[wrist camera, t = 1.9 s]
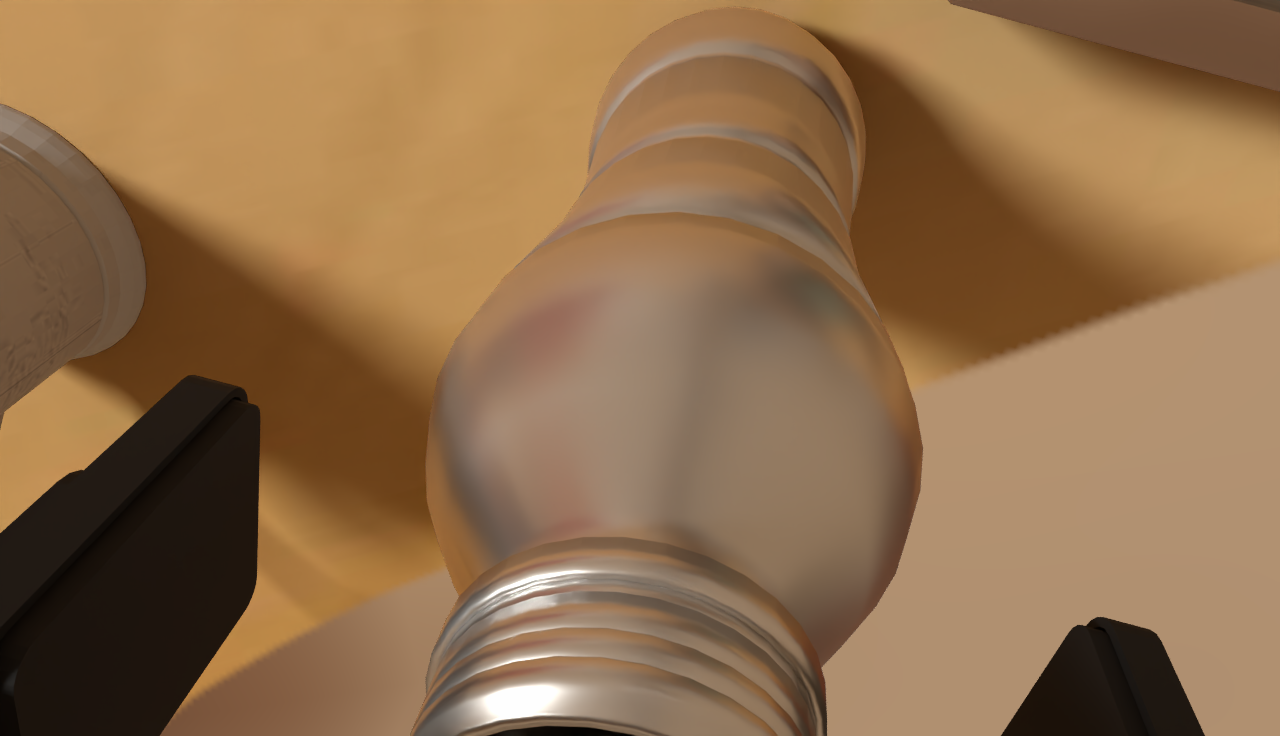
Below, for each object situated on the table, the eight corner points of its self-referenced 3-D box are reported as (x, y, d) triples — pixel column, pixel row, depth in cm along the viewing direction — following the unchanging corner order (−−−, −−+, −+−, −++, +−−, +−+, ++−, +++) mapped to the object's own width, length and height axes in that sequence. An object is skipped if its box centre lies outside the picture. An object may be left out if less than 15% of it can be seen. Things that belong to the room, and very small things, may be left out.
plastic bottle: (895, 19, 23) (1196, 680, 6) (816, 268, 26) (861, 1126, 9) (633, -39, 23) (180, 443, 6) (590, 217, 26) (231, 972, 10)
